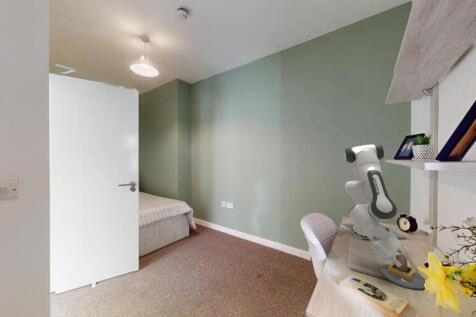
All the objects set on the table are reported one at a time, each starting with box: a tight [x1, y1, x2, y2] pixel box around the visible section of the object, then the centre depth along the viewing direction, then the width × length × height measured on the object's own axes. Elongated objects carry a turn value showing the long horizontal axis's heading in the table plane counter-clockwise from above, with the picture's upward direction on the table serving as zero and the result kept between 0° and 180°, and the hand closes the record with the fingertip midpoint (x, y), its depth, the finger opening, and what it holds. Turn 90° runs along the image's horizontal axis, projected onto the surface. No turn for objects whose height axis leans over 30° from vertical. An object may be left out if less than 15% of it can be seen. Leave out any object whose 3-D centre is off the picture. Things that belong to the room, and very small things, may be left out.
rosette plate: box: [379, 261, 426, 291], centre depth 85 cm, size 16×16×4 cm
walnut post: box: [395, 254, 408, 273], centre depth 85 cm, size 4×4×8 cm
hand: (403, 262), depth 85 cm, fingers open, 8 cm apart
